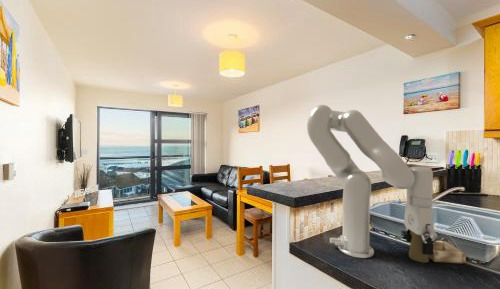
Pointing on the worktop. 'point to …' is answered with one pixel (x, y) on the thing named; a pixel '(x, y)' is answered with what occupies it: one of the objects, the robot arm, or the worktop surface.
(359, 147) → the robot arm
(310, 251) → the worktop surface
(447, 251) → the socket block
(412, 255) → the cork
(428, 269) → the worktop surface
